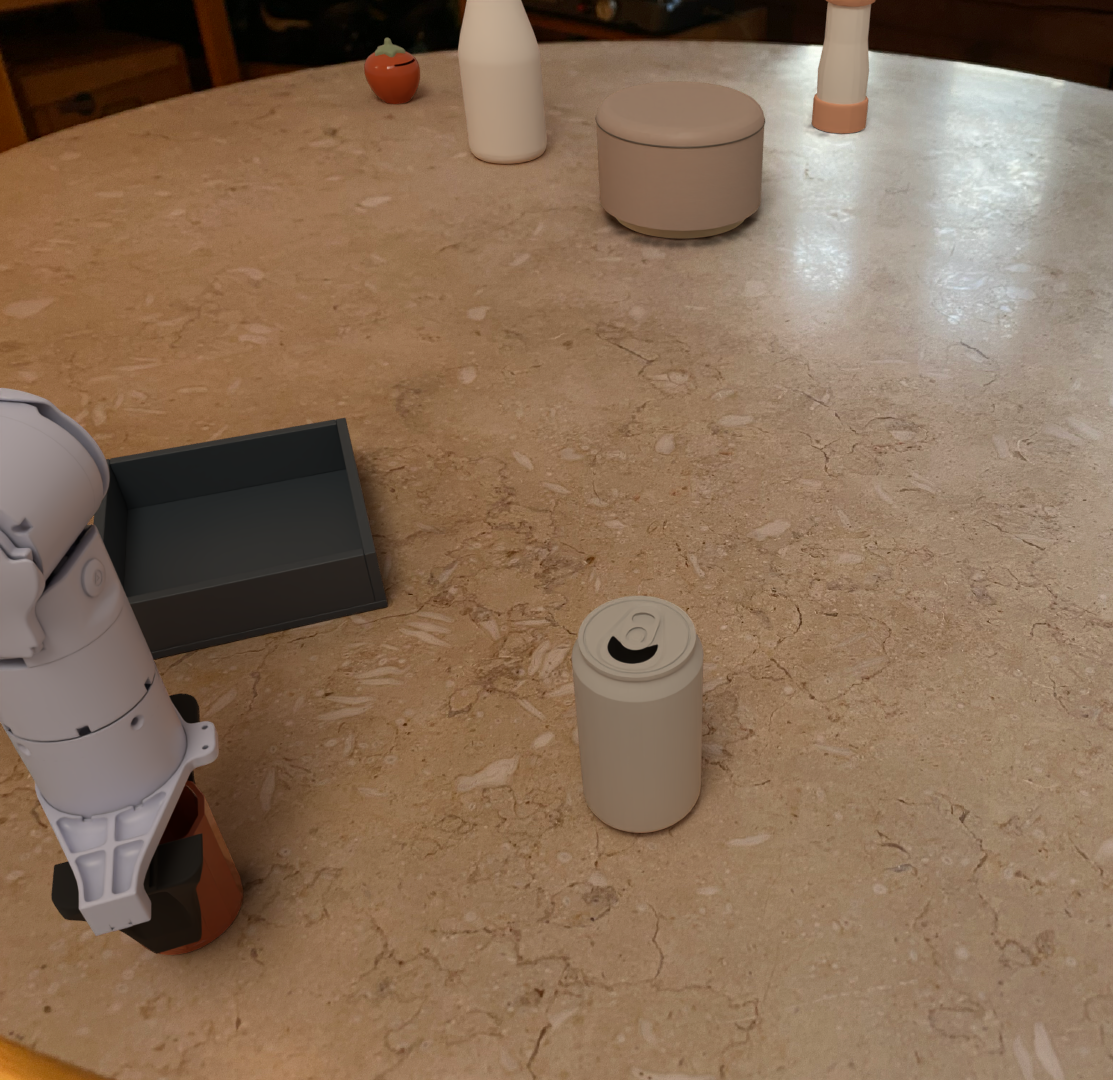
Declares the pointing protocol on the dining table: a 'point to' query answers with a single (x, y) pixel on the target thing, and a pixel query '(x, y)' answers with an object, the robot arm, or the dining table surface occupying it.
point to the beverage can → (639, 712)
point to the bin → (241, 536)
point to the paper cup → (206, 866)
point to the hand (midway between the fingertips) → (177, 884)
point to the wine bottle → (501, 82)
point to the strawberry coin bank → (392, 73)
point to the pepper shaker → (843, 68)
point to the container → (680, 158)
